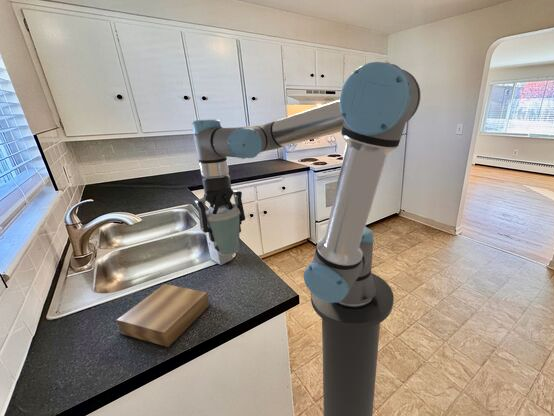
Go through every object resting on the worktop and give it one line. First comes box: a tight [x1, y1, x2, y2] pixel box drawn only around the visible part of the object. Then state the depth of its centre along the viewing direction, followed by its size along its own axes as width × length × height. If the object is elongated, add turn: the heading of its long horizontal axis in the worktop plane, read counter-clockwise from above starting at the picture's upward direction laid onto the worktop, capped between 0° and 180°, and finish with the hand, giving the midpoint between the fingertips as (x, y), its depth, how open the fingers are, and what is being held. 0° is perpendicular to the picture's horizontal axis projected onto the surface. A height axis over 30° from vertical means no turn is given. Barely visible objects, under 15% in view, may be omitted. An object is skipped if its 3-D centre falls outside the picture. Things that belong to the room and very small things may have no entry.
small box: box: [205, 234, 234, 266], centre depth 106 cm, size 8×6×10 cm
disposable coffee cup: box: [205, 202, 241, 256], centre depth 84 cm, size 11×11×15 cm
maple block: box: [116, 283, 210, 348], centre depth 77 cm, size 16×16×5 cm
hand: (227, 245), depth 86 cm, fingers open, 6 cm apart
